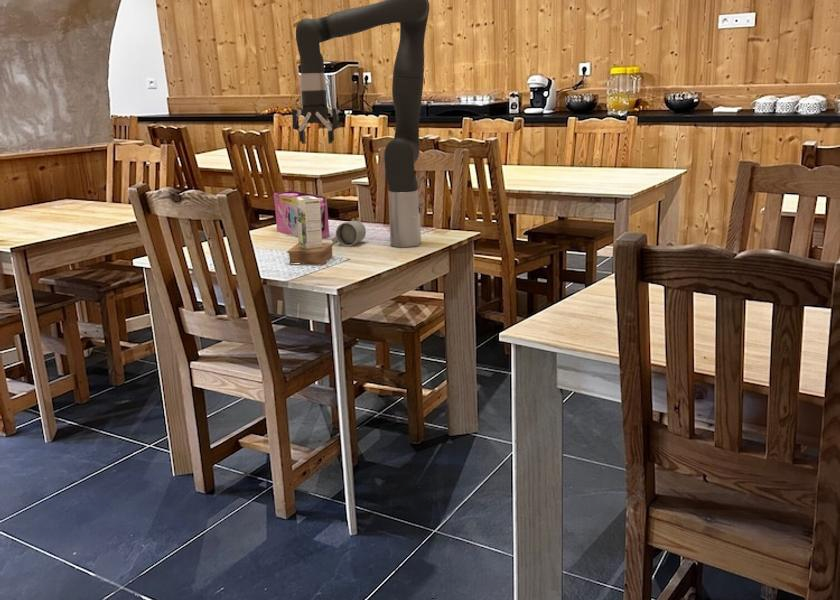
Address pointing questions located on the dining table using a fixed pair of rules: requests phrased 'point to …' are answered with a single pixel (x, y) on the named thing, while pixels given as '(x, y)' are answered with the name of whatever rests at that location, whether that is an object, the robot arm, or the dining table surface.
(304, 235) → the syrup box
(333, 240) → the ceramic mug
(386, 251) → the dining table surface
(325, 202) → the gum box
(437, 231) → the dining table surface
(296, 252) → the plinth
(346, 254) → the dining table surface
